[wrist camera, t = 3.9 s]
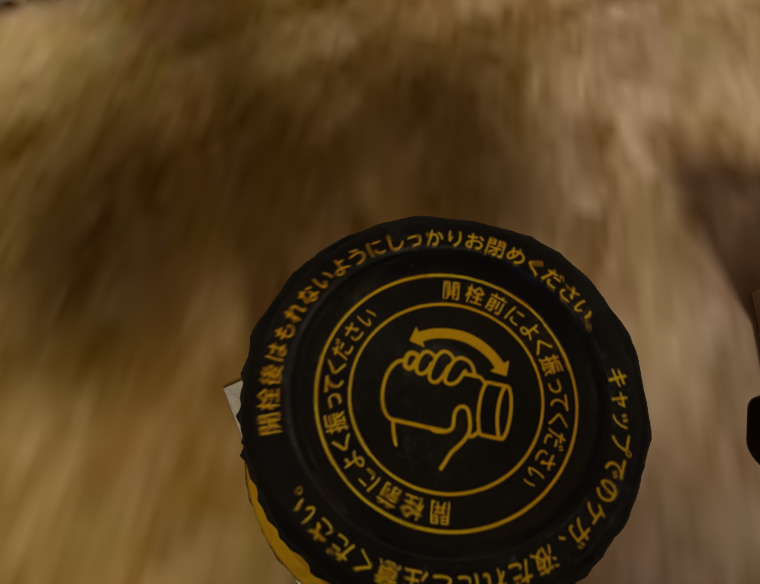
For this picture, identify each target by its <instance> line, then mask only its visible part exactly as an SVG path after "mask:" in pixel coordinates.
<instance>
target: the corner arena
mask: <svg viewBox="0 0 760 584" xmlns="http://www.w3.org/2000/svg"><path fill="white" fill-rule="evenodd" d="M751 294H752V299H753V305H754V310H755V315H756V320H757V325H758V331H759V336H760V288H759V289H757V290H756V291H754V292H753V293H751Z"/></svg>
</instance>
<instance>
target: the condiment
mask: <svg viewBox="0 0 760 584" xmlns="http://www.w3.org/2000/svg"><path fill="white" fill-rule="evenodd" d="M241 377H242V381H240V382H238V383H235V384H233V385H231V386H228V387H226V388H224V391H225V394H226V396H227V399H228V402H229V404H230V407H231V410H232V412H233V415H234V418H235V420H236V423H237V425H238V428H239V431H240V433H241V436H242V441H241V443H242V444H243V446H244V448H243V450H242V452H241V454H240V456H241V457H242V459H243V460H244V461H245V479H246V485H247V489H248V495H249V501H250V503H251V505H252V506H253V508H254V511H255V514H256V517H257V520H258V522H259V524H260V527H261V530H262V533H263V534H264V536H265V538H266V540H267V542H268V543H269V546H270V547H271V549H272V550H273V552H274V554H275V556H276V558H277V560H278V561H279V562H280V563H281V564H283V565H284V566H285V567H286V568H287V569H288V570H289V571H290V572H291V574H292V575H293V576H294V578H295V579H296V581H297V584H575V583H576V582H578V581H580V580H582V579H584V578H586V576H588V574H589V572H590V571H591V569H592V568H593V566H594V565H595V564H596V563H597V562H598V561H599V560H600V559H601V558H602V557H603V556H604V554H605V552H606V550H607V548H608V547H609V546H610V544H611V542H612V541H613V539H614V538H615V537H616V536H617V535H618V534H619V533H620V532H621V530H622V529H623V528H624V526H625V525H626V523H627V521H628V519H629V516H630V512H631V510H632V507H633V505H634V502H635V500H636V497H637V494H638V491H639V487H640V482H641V476H642V472H643V470H644V468H645V461H646V457H647V452H648V449H649V446H650V443H651V439H652V435H651V426H650V420H649V414H648V408H647V401H646V397H645V393H644V389H643V383H642V377H641V371H640V366H639V360H638V356H637V353H636V350H635V347H634V345H633V343H632V340H631V337H630V335H629V333H628V331H627V330H626V328H625V327H624V325H623V324H622V322H621V321H620V320H619V319H618V317H617V316H616V315H615V314H614V312H613V311H612V310H611V309H610V307H609V306H608V304H607V302H606V301H605V299H604V298H603V296H602V295H601V294H600V293H599V291H598V290H597V289H596V287H595V286H594V284H593V283H592V282H591V281H590V280H589V279H588V278H587V277H586V276H585V275H584V274H583V273H582V272H581V271H580V270H578V269H577V268H576V267H575V266H574V265H572V264H571V263H570V262H569V261H568V260H567V259H565V258H564V257H563V255H562V254H561V253H559V252H557V251H555V250H553V249H551V248H550V247H548V246H546V245H544V244H542V243H540V242H539V241H537V240H536V239H534V238H533V237H531V236H527V235H523V234H519V233H516V232H514V231H511V230H506V229H502V228H498V227H494V226H490V225H486V224H482V223H479V222H475V221H467V220H456V219H445V218H438V217H429V216H413V217H408V218H404V219H399V220H395V221H391V222H386V223H382V224H378V225H375V226H373V227H371V228H369V229H366V230H364V231H362V232H358V233H355V234H352V235H348V236H346V237H344V238H343V239H341V240H339V241H337V242H335V243H333V244H332V245H330V246H328V247H327V248H325V249H323V250H322V251H320V252H319V253H317V254H316V255H315V256H314V257H313V258H312V259H310V260H309V261H307V262H306V263H305V264H304V265H303V266H301V267H300V268H299V269H298V270H297V271H295V272H294V273H293V274H292V275H291V277H290V278H289V279H288V280H287V282H286V283H285V285H284V286H283V288H282V290H281V291H280V293H279V294H278V296H277V297H276V298H275V299H274V301H273V302H272V304H271V305H270V307H269V308H268V310H267V311H266V313H265V314H264V315H263V316H262V317H261V318H260V320H259V321H258V323H257V324H256V326H255V327H254V329H253V331H252V334H251V336H250V349H249V354H248V358H247V360H246V363H245V365H244V367H243V370H242V372H241Z"/></svg>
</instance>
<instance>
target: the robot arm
mask: <svg viewBox="0 0 760 584" xmlns="http://www.w3.org/2000/svg"><path fill="white" fill-rule="evenodd" d="M746 443H747V447H748V449H749V452H750V453H751V455H752V457H753V458H754V459H755V460H756V461H757V463H758V464H759V465H760V395H759V396H756V397H754V398H752V399H751V400H750V402H749V403H748V407H747V434H746Z"/></svg>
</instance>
